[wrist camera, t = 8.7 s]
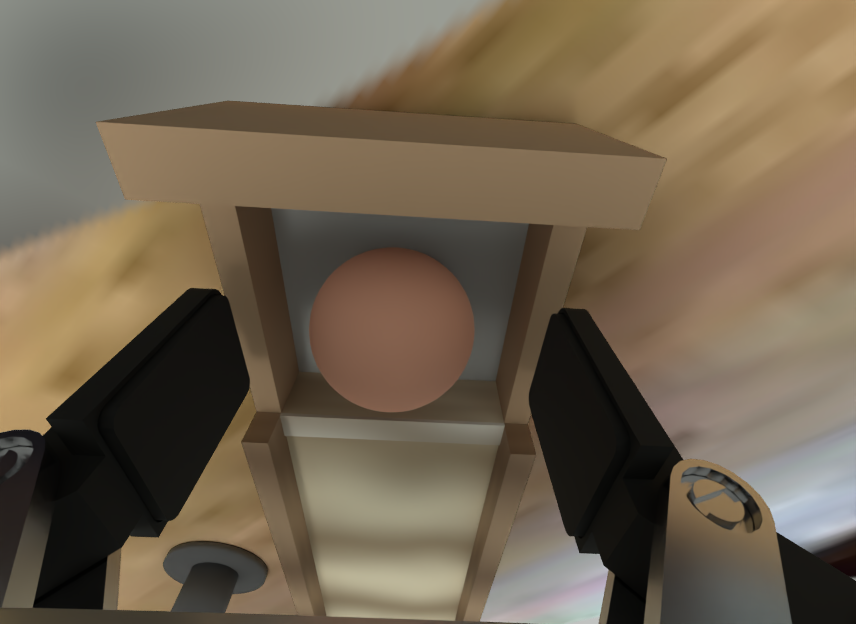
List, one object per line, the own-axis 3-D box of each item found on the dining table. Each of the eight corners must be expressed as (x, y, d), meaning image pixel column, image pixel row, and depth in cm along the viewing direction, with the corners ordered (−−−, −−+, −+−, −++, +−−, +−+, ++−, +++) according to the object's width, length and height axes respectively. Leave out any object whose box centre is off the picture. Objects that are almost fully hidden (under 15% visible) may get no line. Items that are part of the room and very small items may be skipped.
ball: (475, 228, 11) (498, 308, 7) (460, 346, 13) (470, 453, 10) (324, 218, 11) (269, 295, 7) (335, 340, 13) (298, 445, 10)
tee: (274, 588, 25) (257, 646, 23) (183, 585, 25) (155, 643, 22) (257, 543, 22) (234, 605, 19) (153, 539, 22) (116, 601, 19)
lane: (463, 581, 24) (468, 654, 21) (324, 576, 24) (309, 649, 21) (514, 375, 15) (536, 455, 12) (281, 363, 14) (241, 442, 11)
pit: (514, 375, 15) (543, 481, 11) (281, 363, 14) (227, 468, 11) (576, 123, 10) (666, 158, 6) (227, 100, 10) (95, 121, 6)
